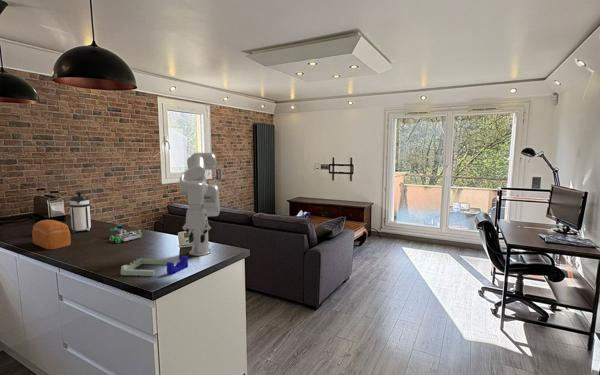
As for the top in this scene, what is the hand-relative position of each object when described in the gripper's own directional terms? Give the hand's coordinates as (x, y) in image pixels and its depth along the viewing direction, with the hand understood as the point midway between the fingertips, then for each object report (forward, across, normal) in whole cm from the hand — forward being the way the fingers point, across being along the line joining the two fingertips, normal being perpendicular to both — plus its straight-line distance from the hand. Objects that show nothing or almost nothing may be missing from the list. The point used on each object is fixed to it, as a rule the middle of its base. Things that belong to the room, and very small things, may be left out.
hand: (197, 241), depth 163 cm
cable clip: (+16, +11, 0) cm, 19 cm away
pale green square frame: (+15, +27, 0) cm, 31 cm away
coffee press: (+16, +121, -73) cm, 142 cm away
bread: (+16, +113, -37) cm, 119 cm away
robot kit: (+16, +76, -55) cm, 95 cm away
